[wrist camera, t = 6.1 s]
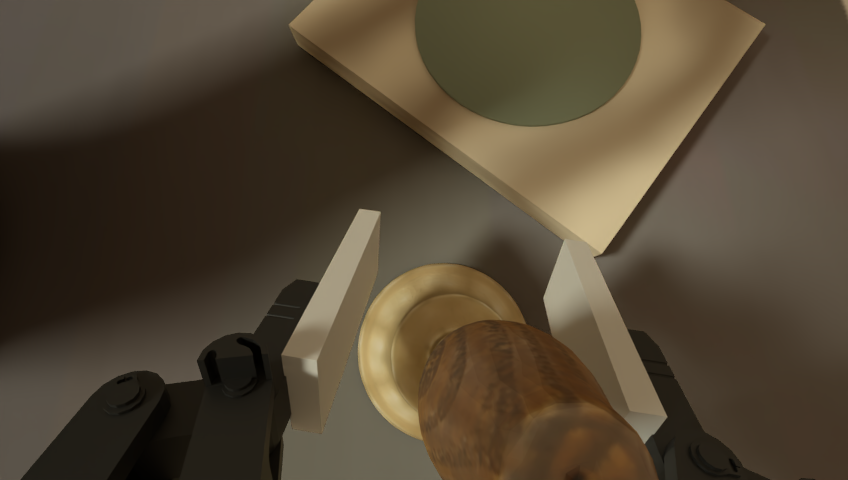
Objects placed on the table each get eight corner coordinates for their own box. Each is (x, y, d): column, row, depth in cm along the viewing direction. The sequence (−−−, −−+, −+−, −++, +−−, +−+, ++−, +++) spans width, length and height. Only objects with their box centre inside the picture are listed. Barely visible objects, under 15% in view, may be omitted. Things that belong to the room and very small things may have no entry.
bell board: (297, 44, 22) (287, 22, 20) (466, -124, 25) (469, -157, 23) (588, 258, 19) (604, 252, 18) (743, 44, 22) (768, 21, 20)
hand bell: (516, 255, 20) (880, -14, 4) (543, 431, 18) (1392, 1199, 2) (353, 272, 19) (59, 59, 4) (364, 451, 18) (-98, 1436, 2)
